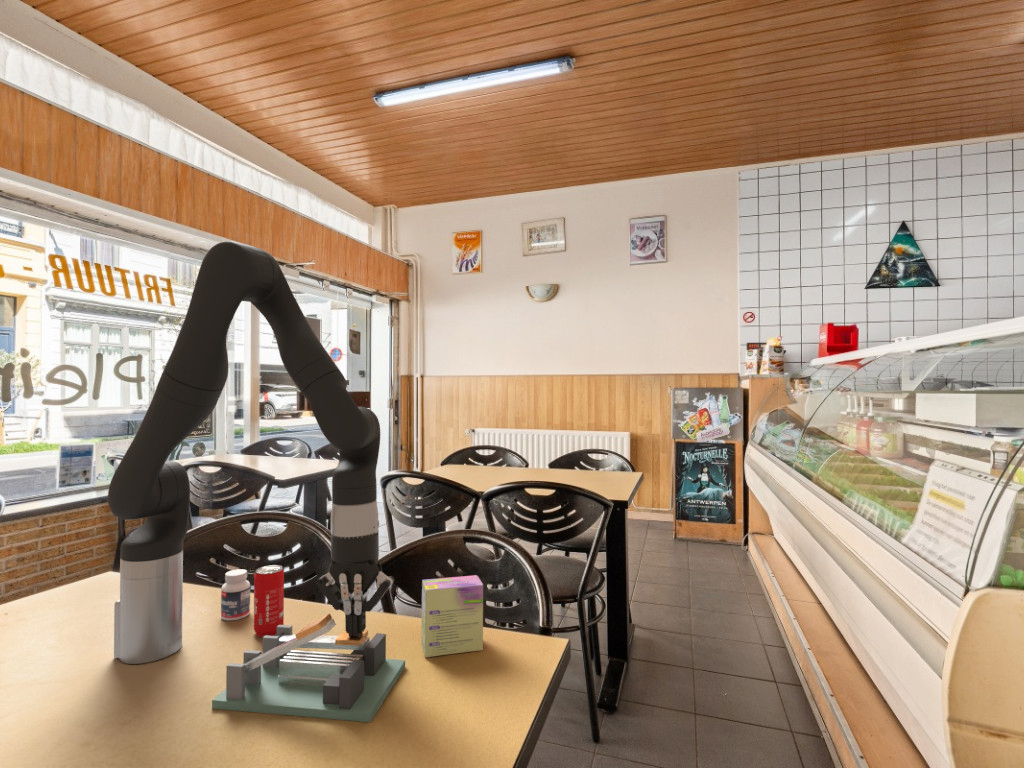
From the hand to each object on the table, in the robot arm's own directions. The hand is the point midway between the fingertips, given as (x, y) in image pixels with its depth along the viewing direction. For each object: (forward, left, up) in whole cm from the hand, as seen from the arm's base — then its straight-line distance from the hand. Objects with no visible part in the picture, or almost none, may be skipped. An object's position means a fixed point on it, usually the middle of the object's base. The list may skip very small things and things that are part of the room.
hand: (355, 635), depth 88 cm
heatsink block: (-4, -4, -5) cm, 8 cm away
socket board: (-5, -4, -6) cm, 9 cm away
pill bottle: (-34, +18, -7) cm, 39 cm away
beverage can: (-23, +12, -7) cm, 26 cm away
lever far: (-6, 0, -2) cm, 7 cm away
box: (+13, +11, -7) cm, 18 cm away
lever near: (-7, -9, +1) cm, 11 cm away
